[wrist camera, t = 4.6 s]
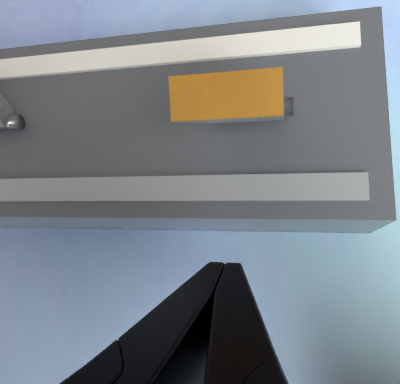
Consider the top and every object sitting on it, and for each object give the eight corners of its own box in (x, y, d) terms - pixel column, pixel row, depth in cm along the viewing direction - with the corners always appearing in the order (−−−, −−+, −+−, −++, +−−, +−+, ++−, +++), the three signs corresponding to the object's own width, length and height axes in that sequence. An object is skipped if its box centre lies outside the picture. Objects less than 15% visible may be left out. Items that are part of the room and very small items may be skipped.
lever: (293, 119, 17) (299, 114, 9) (212, 124, 18) (157, 122, 10) (293, 93, 17) (299, 65, 9) (210, 98, 18) (154, 77, 10)
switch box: (370, 233, 20) (397, 219, 15) (-32, 226, 26) (-108, 215, 21) (360, 64, 22) (382, 3, 17) (-9, 94, 28) (-73, 55, 23)
